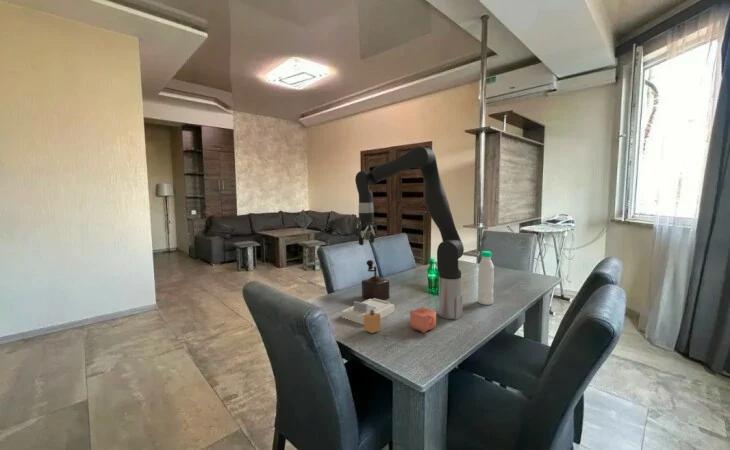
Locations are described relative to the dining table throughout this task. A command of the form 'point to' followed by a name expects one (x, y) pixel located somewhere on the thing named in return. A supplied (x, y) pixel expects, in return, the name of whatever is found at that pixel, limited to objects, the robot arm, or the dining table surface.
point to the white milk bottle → (485, 279)
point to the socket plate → (381, 305)
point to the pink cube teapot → (423, 319)
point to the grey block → (362, 307)
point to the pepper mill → (375, 285)
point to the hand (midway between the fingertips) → (366, 243)
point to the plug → (372, 322)
